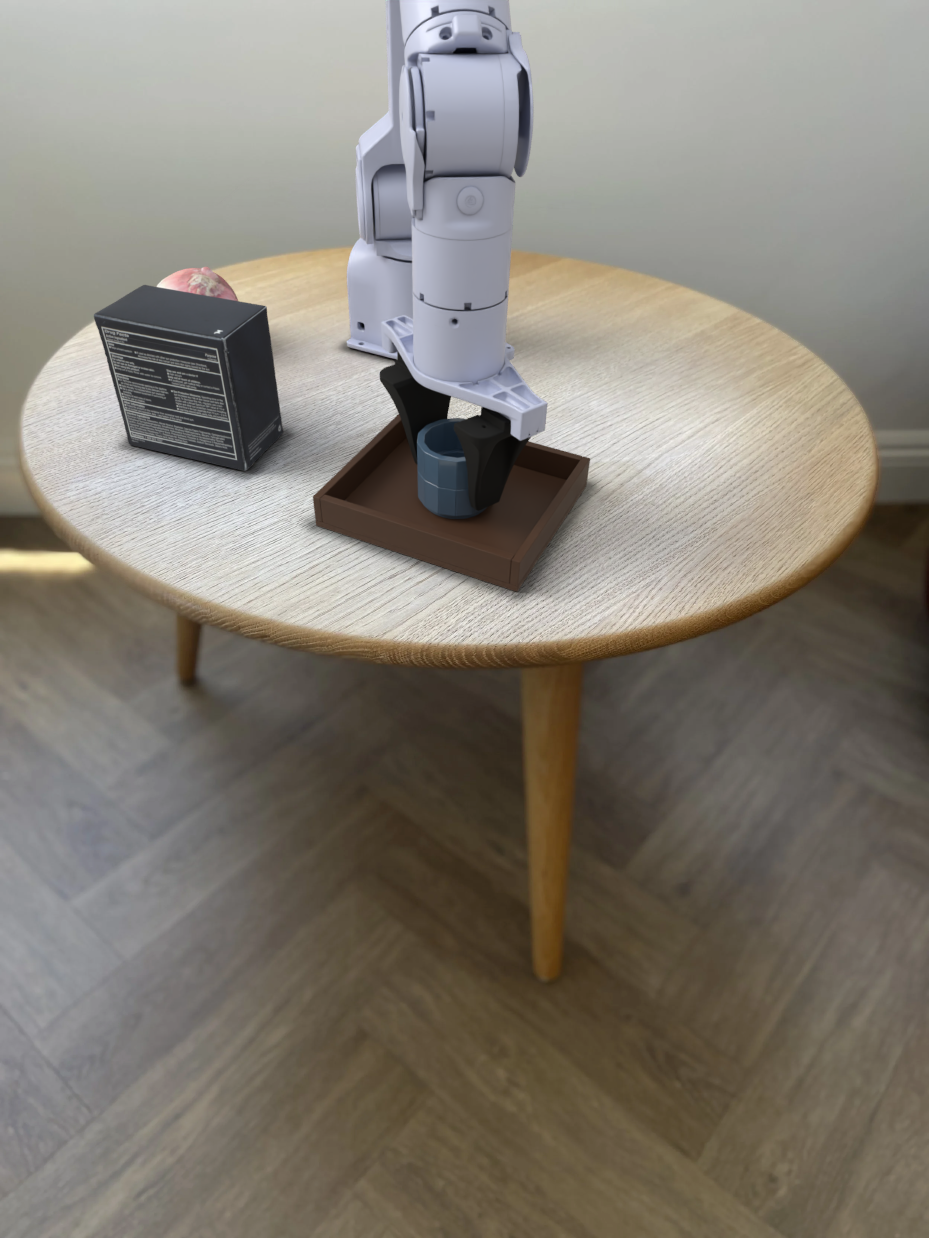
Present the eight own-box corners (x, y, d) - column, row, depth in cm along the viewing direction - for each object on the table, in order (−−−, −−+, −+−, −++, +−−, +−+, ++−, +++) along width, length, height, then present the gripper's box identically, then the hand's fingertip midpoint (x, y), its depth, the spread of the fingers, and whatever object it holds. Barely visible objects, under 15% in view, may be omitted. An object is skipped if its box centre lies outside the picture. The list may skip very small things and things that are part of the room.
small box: (288, 431, 69) (272, 302, 62) (247, 474, 64) (224, 341, 57) (172, 405, 71) (143, 278, 64) (125, 446, 67) (88, 314, 59)
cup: (402, 494, 62) (400, 434, 59) (463, 469, 65) (464, 409, 61) (448, 532, 59) (449, 470, 56) (509, 504, 62) (514, 443, 58)
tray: (315, 525, 60) (312, 496, 58) (405, 435, 69) (405, 407, 67) (517, 592, 56) (520, 562, 54) (586, 486, 64) (590, 457, 63)
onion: (201, 377, 75) (184, 295, 70) (137, 353, 78) (117, 273, 73) (263, 342, 80) (252, 263, 75) (201, 320, 82) (186, 243, 78)
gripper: (594, 317, 49) (568, 511, 59) (440, 238, 57) (439, 419, 67) (499, 351, 46) (488, 550, 55) (350, 262, 54) (362, 449, 63)
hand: (456, 481), depth 61 cm, fingers open, 6 cm apart
